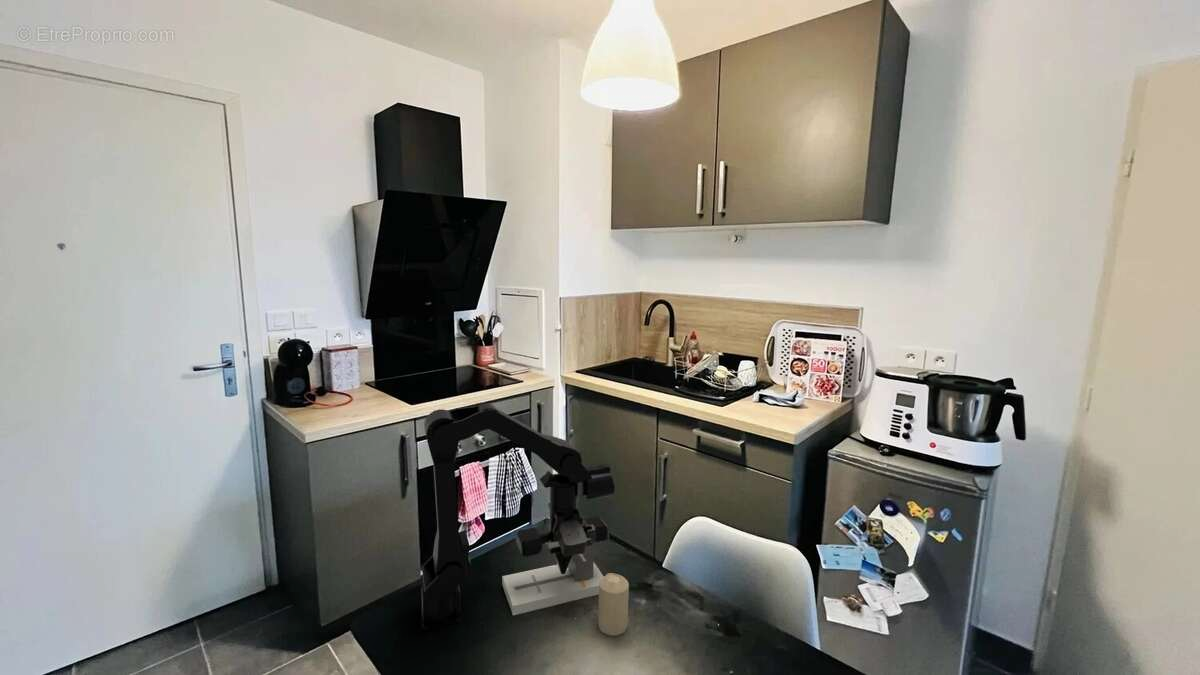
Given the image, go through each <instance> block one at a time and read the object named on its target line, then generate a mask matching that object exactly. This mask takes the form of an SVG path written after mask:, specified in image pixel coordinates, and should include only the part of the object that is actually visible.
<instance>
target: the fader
mask: <svg viewBox="0 0 1200 675" xmlns="http://www.w3.org/2000/svg"><path fill="white" fill-rule="evenodd" d="M594 563H595V561H594V558H593V556H592V555H591V553H590V551H589V550H588V549H587V548H586V550H585V552H584V553H583V554H575V555H573V556H572V558H571V560H570V563H569V565H568V569H569V571H570V573H571V574H572V576H573V578H574V580H575V581H578V580H582V579H587V578H591V577H593V569H594Z"/></svg>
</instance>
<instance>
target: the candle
mask: <svg viewBox="0 0 1200 675" xmlns="http://www.w3.org/2000/svg"><path fill="white" fill-rule="evenodd" d="M603 576H604V577H603V578H602V579H601V580H600V582H599V594H598V614H597V615H598V617H597V618H598V619H597V620H598V621H597V622H598V623H597V625H598V628H599V631H600V632H601V633H603V634H604V635H607V636H610V637H617V636H621V635H623V634H624V633H625V632H626V631H627V628H628V620H629V594H630V593H629V590H630V585H629V584H630V583H629V581H628V580H627V579H626V578H625V577H624V576H622V575H620V574H617V573H613V572H611V573H610V572H608V573H607V574H605V575H603Z"/></svg>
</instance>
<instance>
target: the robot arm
mask: <svg viewBox="0 0 1200 675" xmlns="http://www.w3.org/2000/svg"><path fill="white" fill-rule="evenodd" d="M423 427H424V433H425V437H426V442H427V445H428V449H429V452H430V456H431V460H432V463H433V479H434V495H435V497H434V498H435V509H436V524H437V527H436V528H437V529H436V534H435V537H434V544H433V552H432V555H431V556H430V557H429V558H428V559H427V561H425V563H423V564H422V566H421V571H422V572H421V574H422V583H421V607H420V608H421V609H420V612H421V613H420V614H421V621H422V622H421V626H422V629H423V630H428V629H433V628H438V627H441V626H446V625H450V624H453V623H458V622H459V621H460V616H459V615H460V614H459V613H460V612H461V609H462V608H461V606H462V605H461V600H462V599H461V598H462V597H461V588H460V581H462V580H463V579H464V577H466V576H467V573H468V568H469V567H471V566H472V562H471V558H470V548H471V547H470V546H471V544H470V542H469V538H468V535H467V534H468V533H467V530H466V529H464V530H462V531H459V516H458V501H457V500H458V498H457V497H458V496H457V481H456V467H455V466H456V458H457V455H458V451H459V444H460V441H463V440H466V439H470V438H472V437H473V436H475V435H477V434H479V433H481V432H483V431H486V430H490V431H492V432H493V433H495V434H497V435H499V436H501V437H503V438H505V439H506V440H509V441H510V442H513V443H514V444H516V445H517V446H519V447H521V448H523V449H526V450H527V451H529V452H531V453H532V454H534V455H536V456H537V457H538V458H540V459H541V460H542V461H543V462H544V463H545V464H546V465H548V466H549V467H550V468H551V469H552V470H554V471H555V472H556V473H551V472H550V471H549V470H548V471H546V472H545V474H544V475H543V476H541V477H539V481H540V483H541V484H542V486H543V488H546V489H547V488H549V503H548V504H547V506H548V509H549V520H548V522H547V527H548V528H549V531H547V532H542V533H540V532H538V531H537V529H536V527H529V528H525V529H521V530H518V532H517V533H516V535H515V544H516V545H517V547H518V550H519V552H520V554H521V556H522V557H530V556H535V555H539V554H540V553H541V551H542V550H543V544H544V546H545V547H546V549H547V551H548V553H549V554H550V555H553V556H554V558H555V561H556V565H557V564H558V567H559V570H560V572H561V574H565V573H566V570H567V568H568V565H569V563H570V560H571V558H572V556H573V555H575V554H583V553H584V552H585V550H586V549H587V547H589V546H593V543H595V542H596V543H600V542H604V541H608V540H609V539H610V530H609V529H610V528H609V526H608V525H607V524H606V522H604V520H603V519H602V518H601V517H600V516H599V515H596V516H592V517H586V518H583V519H582V521H581V519H580V518H581V517H580V511H579V509H578V500H579V499H578V495H579V496H580V497H583V499H584V500H585V501H591V500H596V499H603V498H609V497H612V496H614V494H615V483H614V478H613V475H612V473H611V467H610V466H609V465H608V463H602V464H599V465H593V466H585V465H584V464H582V461H583V460H582V459H583V458H582V455H581V453H580V452H579V451H578V450H577V449H576V447H574V446H573V445H572V443H570V442H569V441H567V440H565V439H562V438H559V437H557V436H552V435H549V434H548V435H547V434H543V433H541V432H539V431H537V430H535V429H534V428H532V427H531V426H529V425H527V424H525V423H523V422H522V421H520V420H519V419H517V418H514V417H513V416H511V415H510V414H507V413H505V412H503V410H502V411H501V410H500V409H498V408H497V407H495V406H494V404H493V403H489V402H487V403H481V404H478V405H474V406H465V407H458V408H454V409H450V410H446V409H441V408H440V409H436V410H434V411H432V412H430V413H429V414H428V415H427V416H426V417H425V419H424V424H423ZM468 566H469V567H468Z"/></svg>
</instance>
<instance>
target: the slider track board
mask: <svg viewBox="0 0 1200 675" xmlns="http://www.w3.org/2000/svg"><path fill="white" fill-rule="evenodd" d="M604 576H605V575H603V574H602V571H600V569H599V568H598V566H597V564H596V563H595V562H594V569H593V577H591V578H587V579H582V580H578V581H575V580H574V578H573V576H572V574H571V573H570V571H569V569H568V568H567V570H566V573H565V574H561V572H560V570H559V567H558V564H557V563H556V564H553V565H549V566H543V567H539V568H535V569H530V570H529V569H528V570H525V571H521V572H515V573H512V574H507V575H502V576H501V577H502V580H501V582H502V588H503V591H504V594H505V596H506V600H507V602H508V605H509V608H510V611H511V613H512V614H511V615H512V616H516V615H522V614H525V613H528V612H533V611H537V610H541V609H545V608H550V607H553V606H557V605H561V604H565V603H569V602H573V601H577V600H581V599H586V598H590V597H593V596H594V597H595V596H599V582H600V580H601V579H602V578H603V577H604Z"/></svg>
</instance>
